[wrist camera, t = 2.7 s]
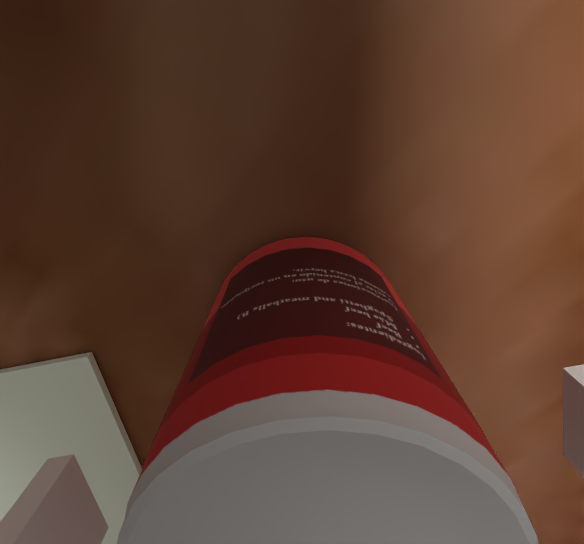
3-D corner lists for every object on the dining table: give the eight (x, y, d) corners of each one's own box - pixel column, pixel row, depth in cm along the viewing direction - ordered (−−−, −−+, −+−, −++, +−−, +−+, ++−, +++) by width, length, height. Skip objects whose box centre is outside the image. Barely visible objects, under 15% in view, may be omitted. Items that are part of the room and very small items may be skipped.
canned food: (294, 426, 20) (297, 767, 9) (176, 305, 17) (8, 571, 7) (433, 336, 18) (626, 628, 8) (321, 190, 16) (379, 320, 5)
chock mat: (-137, 395, 19) (-145, 401, 19) (91, 351, 18) (87, 356, 18) (-25, 561, 23) (-31, 569, 22) (168, 530, 22) (166, 538, 21)
